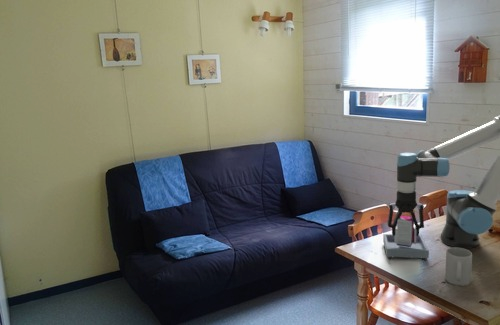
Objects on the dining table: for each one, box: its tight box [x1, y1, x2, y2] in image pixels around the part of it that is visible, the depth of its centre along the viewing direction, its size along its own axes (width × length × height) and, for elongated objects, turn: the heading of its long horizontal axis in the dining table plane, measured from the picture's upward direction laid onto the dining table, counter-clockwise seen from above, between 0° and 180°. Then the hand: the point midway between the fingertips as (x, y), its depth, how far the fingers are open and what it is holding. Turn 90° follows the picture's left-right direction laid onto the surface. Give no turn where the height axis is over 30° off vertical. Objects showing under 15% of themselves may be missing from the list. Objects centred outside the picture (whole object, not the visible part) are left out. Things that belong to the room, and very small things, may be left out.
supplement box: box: [396, 215, 415, 247], centre depth 176 cm, size 6×6×12 cm
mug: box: [444, 246, 473, 286], centre depth 151 cm, size 12×8×11 cm
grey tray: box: [382, 233, 430, 262], centre depth 178 cm, size 16×16×5 cm
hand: (405, 242), depth 177 cm, fingers closed on supplement box, 7 cm apart
